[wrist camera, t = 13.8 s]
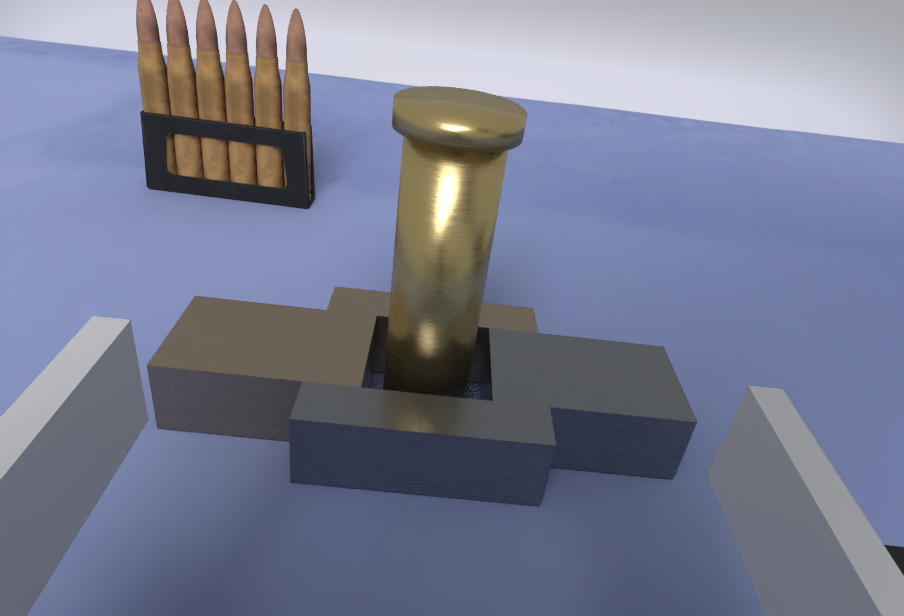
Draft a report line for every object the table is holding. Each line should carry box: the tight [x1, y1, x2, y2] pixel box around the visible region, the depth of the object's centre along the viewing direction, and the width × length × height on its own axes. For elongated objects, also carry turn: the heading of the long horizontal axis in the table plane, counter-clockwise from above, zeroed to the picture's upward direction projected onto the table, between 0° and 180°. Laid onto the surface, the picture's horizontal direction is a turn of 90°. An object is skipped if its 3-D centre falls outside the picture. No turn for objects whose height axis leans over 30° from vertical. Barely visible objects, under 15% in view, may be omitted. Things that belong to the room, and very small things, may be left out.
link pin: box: [383, 86, 527, 398], centre depth 24 cm, size 4×4×13 cm
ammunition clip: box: [136, 0, 315, 209], centre depth 40 cm, size 11×2×12 cm, turn 86°
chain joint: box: [147, 287, 697, 506], centre depth 26 cm, size 20×9×3 cm, turn 88°
